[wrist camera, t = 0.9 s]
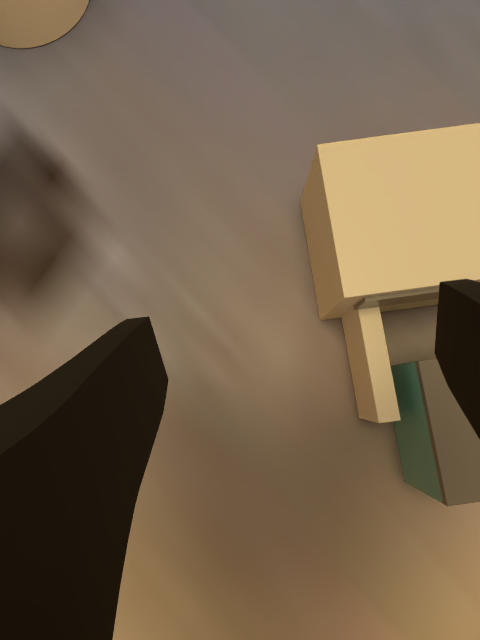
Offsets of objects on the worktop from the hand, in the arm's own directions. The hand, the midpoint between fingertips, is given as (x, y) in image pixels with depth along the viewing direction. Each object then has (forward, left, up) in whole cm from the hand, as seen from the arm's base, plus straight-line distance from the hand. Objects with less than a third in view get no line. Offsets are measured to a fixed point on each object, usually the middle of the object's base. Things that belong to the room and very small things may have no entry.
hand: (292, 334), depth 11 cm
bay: (+3, -8, -13) cm, 16 cm away
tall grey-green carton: (-4, -8, -13) cm, 16 cm away
